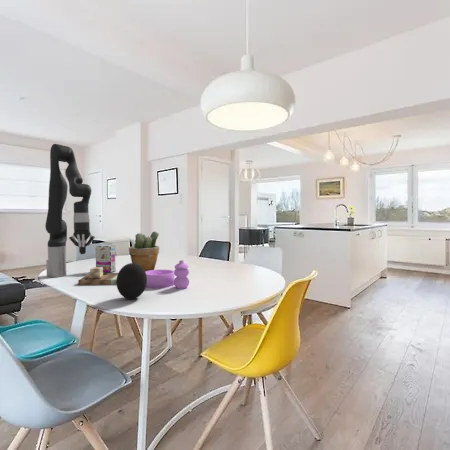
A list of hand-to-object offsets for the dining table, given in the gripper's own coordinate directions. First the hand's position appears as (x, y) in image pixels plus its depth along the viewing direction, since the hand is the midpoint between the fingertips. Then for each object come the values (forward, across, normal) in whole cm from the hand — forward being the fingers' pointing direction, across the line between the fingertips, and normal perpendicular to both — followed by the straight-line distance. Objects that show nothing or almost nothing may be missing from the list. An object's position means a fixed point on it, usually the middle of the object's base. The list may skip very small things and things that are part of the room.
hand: (82, 253), depth 161 cm
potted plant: (+15, +28, +23) cm, 39 cm away
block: (+12, +7, 0) cm, 14 cm away
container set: (+16, +45, -14) cm, 50 cm away
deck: (+15, +13, -1) cm, 20 cm away
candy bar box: (+15, +4, +27) cm, 31 cm away
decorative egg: (+15, +33, -37) cm, 52 cm away
